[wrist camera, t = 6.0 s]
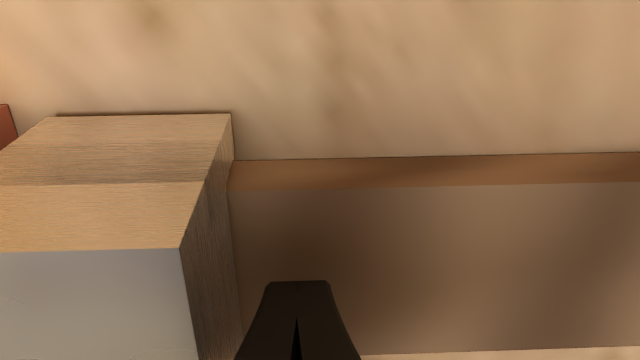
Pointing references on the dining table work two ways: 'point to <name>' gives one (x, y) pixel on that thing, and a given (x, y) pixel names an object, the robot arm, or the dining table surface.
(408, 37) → the dining table surface
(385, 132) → the dining table surface
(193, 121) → the keeper
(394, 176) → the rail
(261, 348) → the robot arm
